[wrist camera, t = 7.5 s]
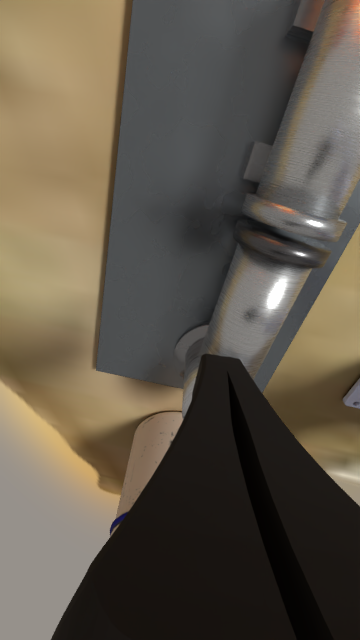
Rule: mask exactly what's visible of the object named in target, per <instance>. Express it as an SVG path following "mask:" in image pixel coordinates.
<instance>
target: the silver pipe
mask: <svg viewBox="0 0 360 640" xmlns="http://www.w3.org/2000/svg"><path fill="white" fill-rule="evenodd" d="M233 238H234V239H235V240H236V241H237V242H238V245H237V248H236V251H235V254H234V256H233V259H232V262H231V265H230V268H229V270H228V273H227V276H226V279H225V282H224V284H223V287H222V290H221V293H220V296H219V298H218V301H217V304H216V307H215V310H214V313H213V315H212V318H211V321H210V324H209V327H208V329H207V332H206V335H205V337H203V338H200V339H198V340H197V341H195V342H194V343H193V344H192V345H191V346H190V347H189V348H188V350H187V352H186V355H185V368H184V387H183V406H182V418H183V419H184V417H185V415H186V412H187V410H188V408H189V405H190V403H191V401H192V392H193V388H194V384H195V380H196V376H197V372H198V368H199V364H200V360H201V356H202V355H203V354H205V353H206V354H213V355H219V356H225V357H232V358H238V359H240V360H241V362H242V363H243V365H244V366H245V368H246V369H247V371H248V373H249V374H250V376H251V377H252V379H253V380H254V378H255V376H256V374H257V372H258V370H259V368H260V366H261V364H262V363H263V361H264V359H265V357H266V355H267V353H268V351H269V349H270V347H271V346H272V344H273V342H274V340H275V338H276V336H277V334H278V332H279V330H280V329H281V327H282V325H283V323H284V321H285V319H286V317H287V315H288V313H289V311H290V310H291V308H292V306H293V304H294V302H295V300H296V298H297V296H298V294H299V293H300V291H301V289H302V287H303V285H304V283H305V281H306V279H307V277H308V276H309V274H310V272H311V270H312V268H322V267H324V265H325V263H326V261H327V259H328V258H329V256H330V254H331V252H332V251H331V249H329V248H328V247H327V246H325V245H323V244H322V243H320V242H318V241H315V240H313V239H311V238H309V237H305V236H301V235H298V234H294V233H291V232H288V231H285V230H281V229H279V228H276V227H273V226H270V225H267V224H265V223H262V222H257V221H252V220H238V221H237V224H236V227H235V230H234V233H233Z"/></svg>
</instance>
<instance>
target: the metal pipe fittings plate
mask: <svg viewBox="0 0 360 640" xmlns="http://www.w3.org/2000/svg"><path fill="white" fill-rule="evenodd" d="M238 220H252V221H257V222H262V223H265V224H267V225H270V226H273V227H276V228H279V229H281V230H285V231H288V232H291V233H294V234H298V235H301V236H305V237H309V238H311V239H313V240H315V241H318V242H320V243H322V244H323V245H325V246H327V247H328V248H329V249H331V251H332V252H331V254H330V256H329V258H328V259H327V261H326V263H325V265H324V267H322V268H312V270H311V272H310V274H309V276H308V277H307V279H306V281H305V283H304V285H303V287H302V289H301V291H300V293H299V294H298V296H297V298H296V300H295V302H294V304H293V306H292V308H291V310H290V311H289V313H288V315H287V317H286V319H285V321H284V323H283V325H282V327H281V329H280V330H279V332H278V334H277V336H276V338H275V340H274V342H273V344H272V346H271V347H270V349H269V351H268V353H267V355H266V357H265V359H264V361H263V363H262V364H261V366H260V368H259V370H258V372H257V374H256V376H255V378H254V382H255V383H256V385H257V386H258V388H259V389H260V391H261V392H262V393H263V391H264V389H265V387H266V386H267V384H268V382H269V380H270V379H271V377H272V375H273V373H274V372H275V370H276V368H277V366H278V365H279V363H280V361H281V359H282V358H283V356H284V354H285V352H286V351H287V349H288V347H289V345H290V344H291V342H292V340H293V338H294V337H295V335H296V333H297V331H298V330H299V328H300V326H301V325H302V323H303V321H304V319H305V318H306V316H307V314H308V312H309V311H310V309H311V307H312V305H313V304H314V302H315V300H316V298H317V297H318V295H319V293H320V291H321V290H322V288H323V286H324V284H325V283H326V281H327V279H328V277H329V276H330V274H331V272H332V270H333V269H334V267H335V265H336V263H337V262H338V260H339V258H340V257H341V255H342V253H343V251H344V250H345V248H346V246H347V244H348V243H349V241H350V239H351V237H352V236H353V234H354V232H355V230H356V229H357V227H358V225H359V223H360V0H133V5H132V15H131V25H130V35H129V45H128V55H127V65H126V75H125V85H124V95H123V105H122V115H121V125H120V135H119V145H118V155H117V165H116V175H115V185H114V195H113V205H112V215H111V225H110V235H109V245H108V255H107V265H106V275H105V285H104V295H103V305H102V315H101V325H100V335H99V345H98V355H97V365H96V371H101V372H106V373H110V374H115V375H120V376H125V377H129V378H134V379H139V380H143V381H148V382H153V383H158V384H162V385H167V386H172V387H177V388H181V389H183V387H184V368H185V355H186V352H187V350H188V348H189V347H190V346H191V345H192V344H193V343H194V342H195V341H197V340H198V339H200V338H203V337H205V335H206V332H207V329H208V327H209V324H210V321H211V318H212V315H213V313H214V310H215V307H216V304H217V301H218V298H219V296H220V293H221V290H222V287H223V284H224V282H225V279H226V276H227V273H228V270H229V268H230V265H231V262H232V259H233V256H234V254H235V251H236V248H237V245H238V242H237V241H236V240H235V239H234V238H233V233H234V230H235V227H236V224H237V221H238Z"/></svg>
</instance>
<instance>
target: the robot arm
mask: <svg viewBox="0 0 360 640" xmlns="http://www.w3.org/2000/svg"><path fill="white" fill-rule="evenodd" d="M343 402H344V404H345V405H346V406H350V407H355V408H359V409H360V378H359V380H358V381H357V382H356V383H355V385H354V386H353V387H352V388H351V389H350V391H349V392H348V393H347V394H346V396H345V397H344V398H343ZM51 640H360V506H359V505H358V504H356V502H354V500H352V498H351V497H349V496H348V495H347V494H346V492H345V491H343V489H341V488H340V487H339V486H338V485H337V484H336V483H335V481H334V480H333V479H332V478H331V477H330V476H329V475H328V474H327V473H326V472H325V471H324V470H323V469H322V468H321V467H320V466H319V464H318V463H317V462H316V461H315V460H314V459H313V458H312V457H311V455H310V454H309V453H308V452H307V451H306V450H305V449H304V448H303V446H302V445H301V444H300V443H299V442H298V441H297V439H296V438H295V437H294V436H293V434H292V433H291V432H290V431H289V429H288V428H287V427H286V426H285V424H284V423H283V422H282V420H281V419H280V418H279V416H278V415H277V414H276V412H275V411H274V410H273V408H272V407H271V405H270V404H269V402H268V401H267V400H266V398H265V397H264V395H263V394H262V392H261V391H260V389H259V388H258V386H257V385H256V383H255V382H254V380H253V379H252V377H251V376H250V374H249V373H248V371H247V369H246V368H245V366H244V365H243V363H242V362H241V360H240V359H238V358H232V357H225V356H219V355H213V354H206V353H205V354H203V355H202V356H201V360H200V364H199V368H198V372H197V376H196V380H195V384H194V388H193V392H192V401H191V403H190V405H189V408H188V410H187V412H186V415H185V417H184V419H183V421H182V423H181V425H180V427H179V429H178V431H177V433H176V435H175V437H174V439H173V441H172V443H171V445H170V446H169V448H168V450H167V452H166V453H165V455H164V457H163V459H162V460H161V462H160V464H159V465H158V467H157V469H156V470H155V472H154V474H153V475H152V477H151V478H150V480H149V481H148V483H147V485H146V486H145V488H144V489H143V491H142V492H141V494H140V495H139V497H138V498H137V500H136V501H135V503H134V504H133V506H132V507H131V509H130V510H129V512H128V513H127V515H126V516H125V518H124V519H123V520H122V522H121V523H120V524H119V526H118V527H117V529H116V530H115V531H114V533H113V534H112V535H111V537H110V538H109V540H108V541H107V542H106V544H105V545H104V546H103V548H102V549H101V551H100V552H99V553H98V555H97V556H96V557H95V559H94V561H93V562H92V563H91V565H90V567H89V569H88V571H87V573H86V575H85V577H84V579H83V580H82V582H81V584H80V586H79V587H78V589H77V591H76V593H75V594H74V596H73V598H72V600H71V602H70V603H69V605H68V607H67V609H66V611H65V612H64V614H63V616H62V618H61V620H60V622H59V624H58V626H57V628H56V630H55V632H54V634H53V636H52V639H51Z"/></svg>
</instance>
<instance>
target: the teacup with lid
mask: <svg viewBox="0 0 360 640" xmlns="http://www.w3.org/2000/svg"><path fill="white" fill-rule="evenodd" d="M182 421H183V418H182V412H164V413H159V414H156V415H153V416H151V417H149V418H147V419H145V420H144V421H143V422H142V423H141V424H140V425H139V426H138V428H137V429H136V431H135V434H134V439H133V443H132V448H131V452H130V457H129V461H128V466H127V471H126V475H125V480H124V484H123V489H122V493H121V498H120V502H119V507H118V511H117V516H116V519H115V520H114V522H113V523H112V525H111V528H110V537H111V535H112V534H113V533H114V531H115V530H116V529H117V527H118V526H119V524H120V523H121V522H122V520H123V519H124V518H125V516H126V515H127V513H128V512H129V510H130V509H131V507H132V506H133V504H134V503H135V501H136V500H137V498H138V497H139V495H140V494H141V492H142V491H143V489H144V488H145V486H146V485H147V483H148V481H149V480H150V478H151V477H152V475H153V474H154V472H155V470H156V469H157V467H158V465H159V464H160V462H161V460H162V459H163V457H164V455H165V453H166V452H167V450H168V448H169V446H170V445H171V443H172V441H173V439H174V437H175V435H176V433H177V431H178V429H179V427H180V425H181V423H182Z"/></svg>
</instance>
